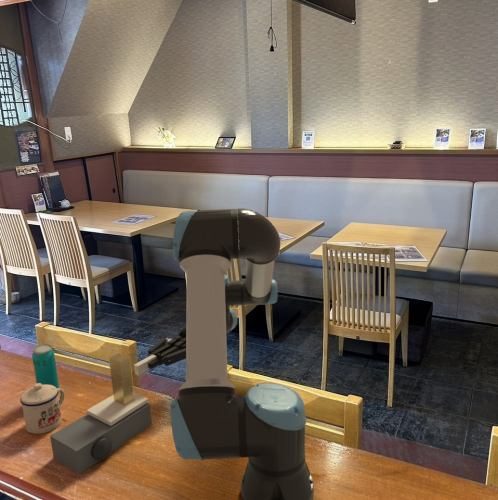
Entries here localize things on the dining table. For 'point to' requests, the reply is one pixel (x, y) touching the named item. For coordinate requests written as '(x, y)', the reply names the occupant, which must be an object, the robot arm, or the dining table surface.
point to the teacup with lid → (42, 408)
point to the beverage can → (45, 365)
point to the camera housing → (96, 438)
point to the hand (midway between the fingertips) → (136, 370)
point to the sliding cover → (118, 394)
